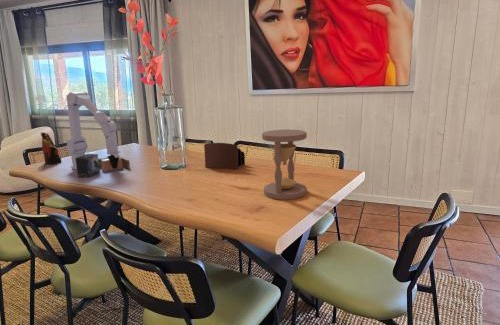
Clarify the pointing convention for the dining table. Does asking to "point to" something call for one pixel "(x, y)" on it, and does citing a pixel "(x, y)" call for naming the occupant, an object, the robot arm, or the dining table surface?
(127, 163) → the shelf
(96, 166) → the small box
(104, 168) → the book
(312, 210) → the dining table surface
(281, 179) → the hourglass
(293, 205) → the dining table surface
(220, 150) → the letter holder
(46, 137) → the statue
